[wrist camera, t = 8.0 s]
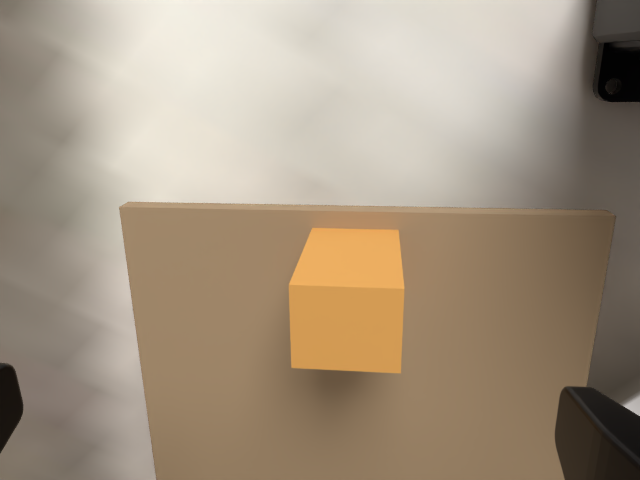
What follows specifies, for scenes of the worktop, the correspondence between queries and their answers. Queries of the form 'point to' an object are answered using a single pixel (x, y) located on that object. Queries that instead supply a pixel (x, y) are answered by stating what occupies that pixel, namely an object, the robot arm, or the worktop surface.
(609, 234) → the lid
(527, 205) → the worktop surface
